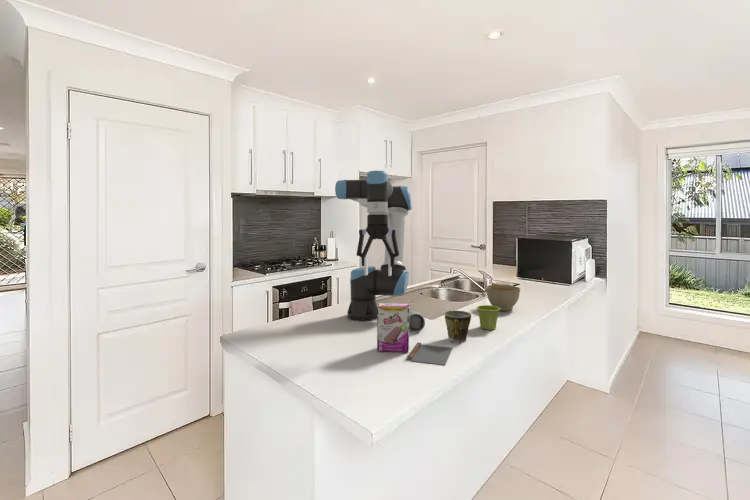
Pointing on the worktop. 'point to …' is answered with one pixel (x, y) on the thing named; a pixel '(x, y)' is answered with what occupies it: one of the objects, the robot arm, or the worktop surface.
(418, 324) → the ceramic mug
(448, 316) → the ceramic cup
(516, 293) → the planter bowl
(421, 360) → the mat
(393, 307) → the candy bar box
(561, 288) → the worktop surface
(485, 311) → the plant pot
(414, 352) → the strip
